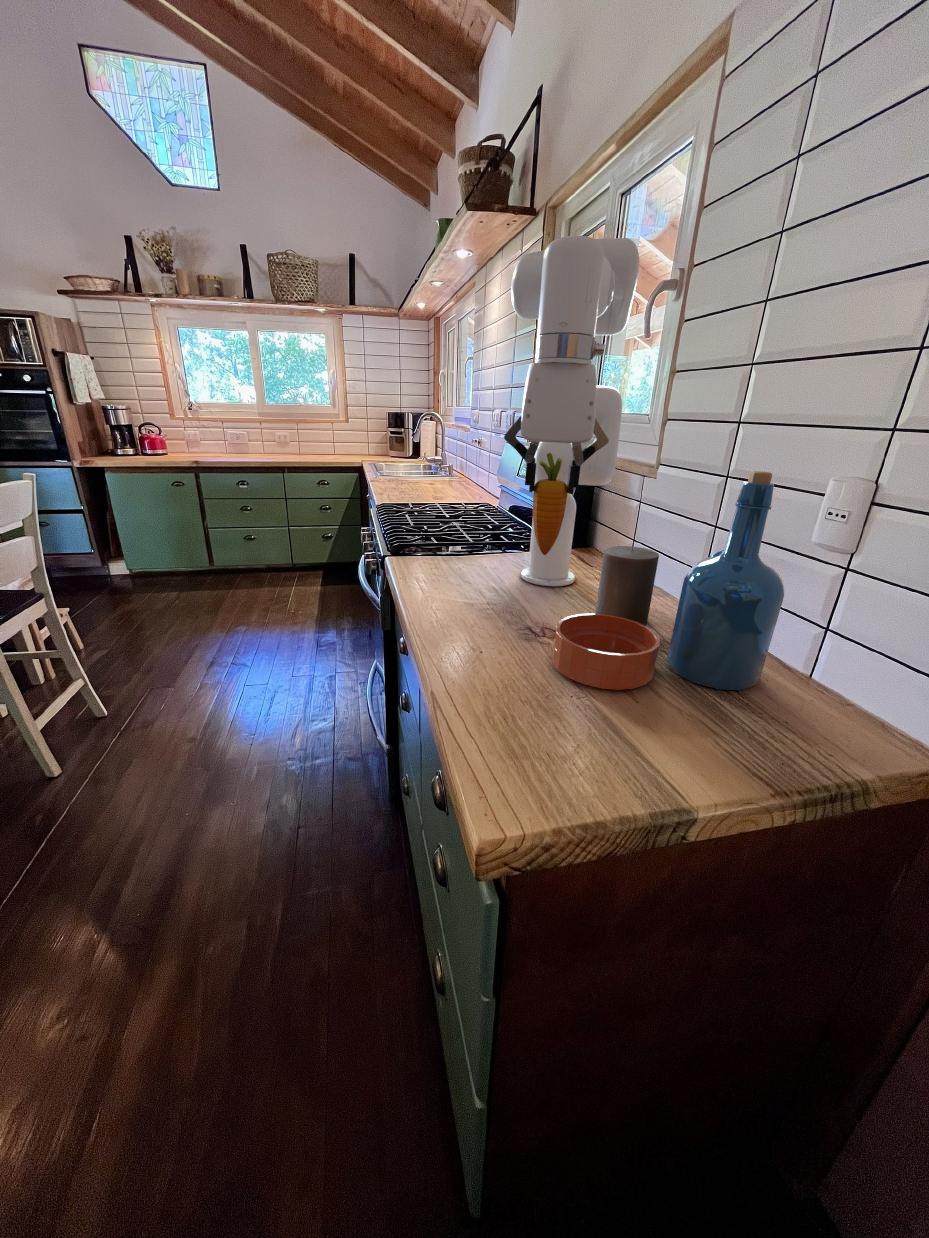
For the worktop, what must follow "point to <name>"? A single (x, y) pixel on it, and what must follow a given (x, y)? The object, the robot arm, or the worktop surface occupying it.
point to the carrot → (549, 505)
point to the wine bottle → (730, 602)
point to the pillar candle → (627, 582)
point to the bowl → (605, 651)
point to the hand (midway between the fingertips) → (550, 490)
